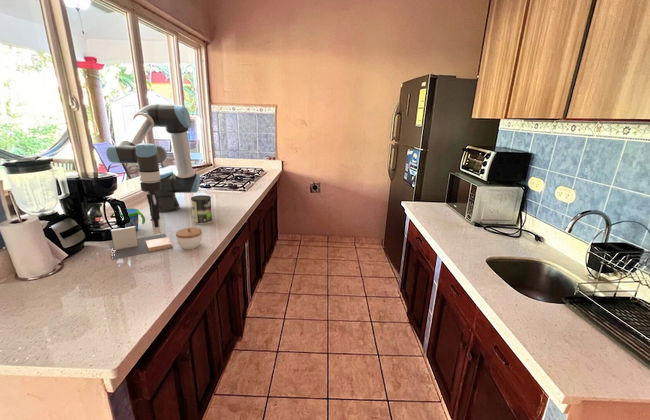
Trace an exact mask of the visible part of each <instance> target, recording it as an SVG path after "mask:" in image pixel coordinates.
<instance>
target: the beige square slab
mask: <svg viewBox="0 0 650 420" xmlns="http://www.w3.org/2000/svg"><path fill="white" fill-rule="evenodd" d="M171 245H172V242H171V241H170V238H169V237H168V236H167V237H165V238H159V239H153V240H148V241H146V246H147V248H148V251H149V252H151V251H156V250H161V249H167V248H171ZM167 250H168V249H167Z"/></svg>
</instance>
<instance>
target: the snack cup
mask: <svg viewBox="0 0 650 420" xmlns="http://www.w3.org/2000/svg"><path fill="white" fill-rule="evenodd" d="M126 209H127V212H128V216H129V218H130V222H129V223H127V224H125V227H132V226H135V227H136V231H137V230H138V229H139V216H140V217H141V221H142V222H141V224H142V225H144V224H145V223H146V217H145V216H144V214H143V213H142V212H141V211H140V210H139V209H138V208H132V207H131V208H126ZM113 215H114V212H113V213H111V215H110V217H111V216H113ZM120 216H121V217H122V218H123V215H122V214H121V212H120ZM113 217H114V216H113Z"/></svg>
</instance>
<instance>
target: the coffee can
mask: <svg viewBox="0 0 650 420" xmlns="http://www.w3.org/2000/svg"><path fill="white" fill-rule="evenodd" d="M211 200H212V196H210V195H205V194H201V195H194V196H192V197H190V201H191V202H190V203H191V211H192V212H191V213H192V223H193V224H195V225H207V224H210V223H212V222H213V211H212V201H211Z"/></svg>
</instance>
